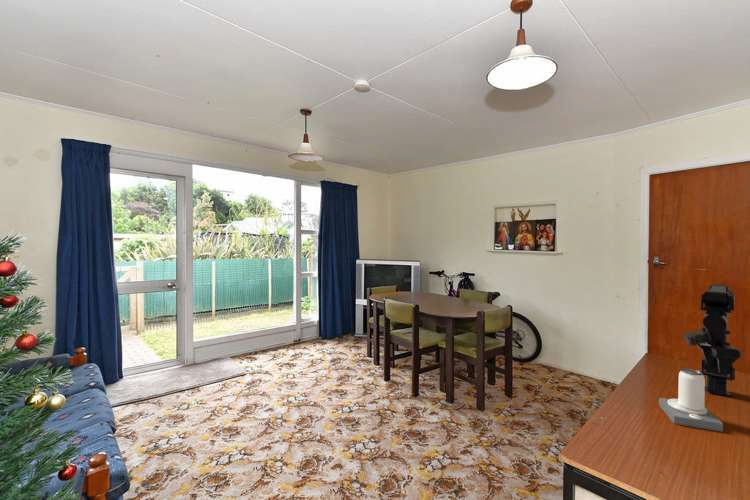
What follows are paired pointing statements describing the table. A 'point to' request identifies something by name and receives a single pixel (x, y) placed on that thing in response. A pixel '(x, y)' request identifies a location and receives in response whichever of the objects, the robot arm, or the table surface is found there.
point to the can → (691, 389)
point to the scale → (690, 415)
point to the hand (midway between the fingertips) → (715, 369)
